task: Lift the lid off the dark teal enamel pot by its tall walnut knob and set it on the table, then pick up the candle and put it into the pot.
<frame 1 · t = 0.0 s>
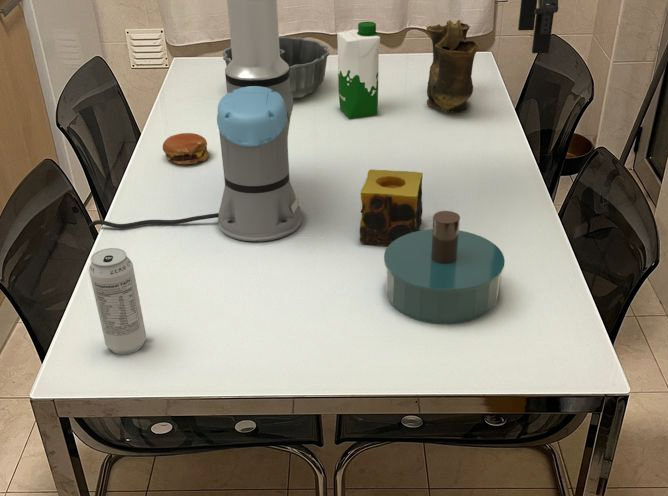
hand: (532, 41, 147), 28 cm above the table, tool pointing down, fingers open, 13 cm apart
lid: (443, 260, 130), point 6 cm above the table, touching pot
milk carton: (358, 113, 198), on the table
pot: (441, 293, 133), on the table
pottery vessel: (448, 107, 200), on the table
energy drink can: (127, 345, 124), on the table
candle: (391, 234, 150), on the table
bundt pan: (278, 91, 212), on the table
burger: (187, 158, 179), on the table
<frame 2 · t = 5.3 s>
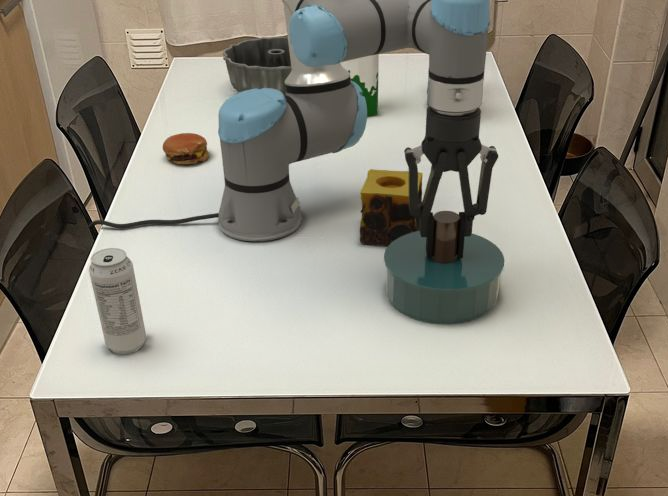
hand: (444, 253, 129), 7 cm above the table, tool pointing down, fingers closed on lid, 4 cm apart
lid: (443, 260, 130), point 6 cm above the table, touching gripper, pot
everything else where it was.
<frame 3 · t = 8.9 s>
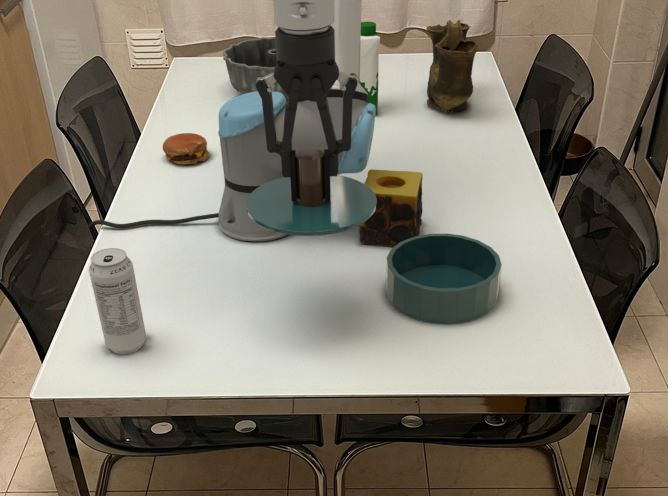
hand: (311, 196, 118), 20 cm above the table, tool pointing down, fingers closed on lid, 4 cm apart
lid: (311, 204, 119), point 18 cm above the table, touching gripper
everything else where it was.
when the fingers open (2 cm above the table, at t = 12.9 s): lid stays where it is, point 1 cm above the table.
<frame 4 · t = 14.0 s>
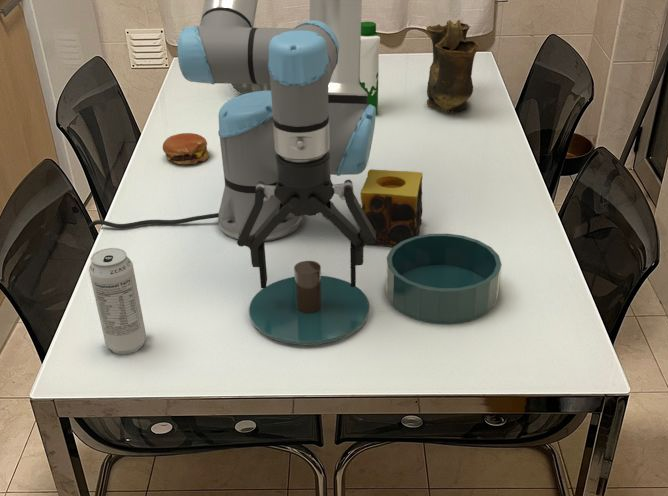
hand: (308, 283, 127), 5 cm above the table, tool pointing down, fingers open, 13 cm apart
lid: (309, 309, 129), point 1 cm above the table
everything else where it was.
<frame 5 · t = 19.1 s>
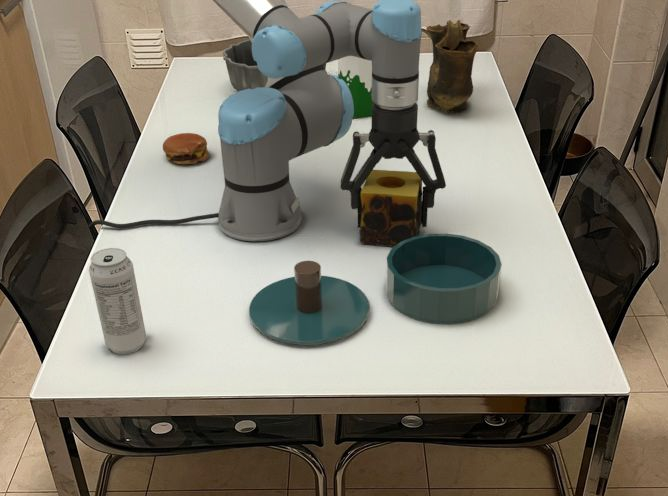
hand: (391, 223, 149), 2 cm above the table, tool pointing down, fingers closed on candle, 11 cm apart
candle: (391, 234, 150), on the table, touching gripper
everything else where it was.
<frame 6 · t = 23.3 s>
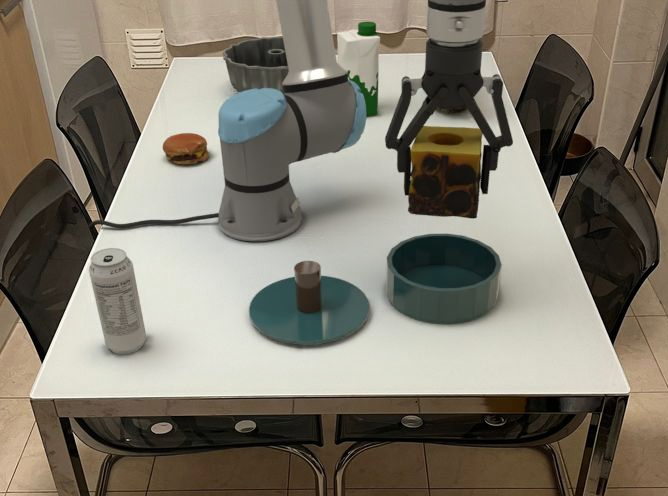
hand: (445, 190, 124), 17 cm above the table, tool pointing down, fingers closed on candle, 11 cm apart
candle: (444, 203, 125), point 15 cm above the table, touching gripper
everything else where it was.
when the fingers open (2 cm above the table, at t = 27.4 s): candle stays where it is, resting on pot.
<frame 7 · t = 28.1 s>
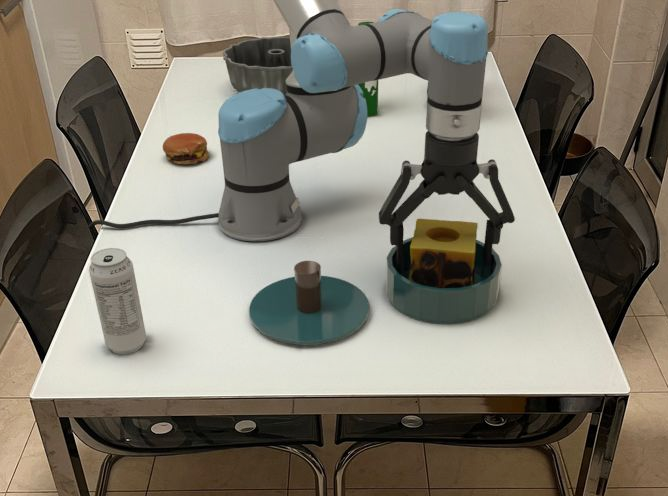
hand: (442, 261, 130), 6 cm above the table, tool pointing down, fingers open, 13 cm apart
candle: (441, 291, 133), resting on pot
everything else where it was.
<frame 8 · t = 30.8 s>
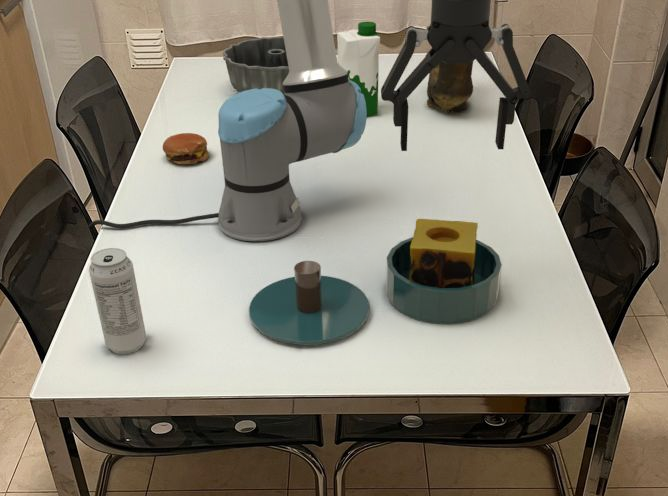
hand: (451, 146, 119), 25 cm above the table, tool pointing down, fingers open, 13 cm apart
nothing on the table moved.
at the end: lid inside the target area (0.2 cm from its centre), point 0.6 cm above the table; candle inside the target area in the pot (0.1 cm from its centre), point 0.3 cm above the pot's base; candle tilted 0° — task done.
